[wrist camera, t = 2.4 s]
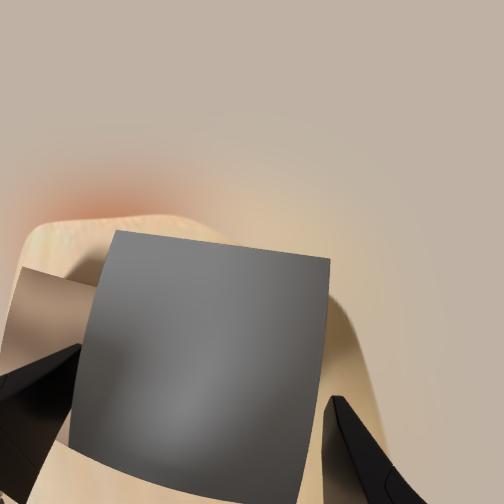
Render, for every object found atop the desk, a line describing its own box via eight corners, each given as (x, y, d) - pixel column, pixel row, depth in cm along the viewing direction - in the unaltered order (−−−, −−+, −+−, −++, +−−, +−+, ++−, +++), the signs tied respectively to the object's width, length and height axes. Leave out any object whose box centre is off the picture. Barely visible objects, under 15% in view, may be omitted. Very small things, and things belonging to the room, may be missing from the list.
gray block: (283, 470, 9) (295, 507, 6) (117, 432, 10) (67, 446, 6) (308, 294, 13) (330, 258, 9) (150, 270, 13) (116, 230, 9)
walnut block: (111, 440, 15) (77, 451, 11) (32, 400, 15) (-5, 398, 11) (135, 308, 19) (106, 289, 15) (55, 287, 19) (22, 266, 15)
